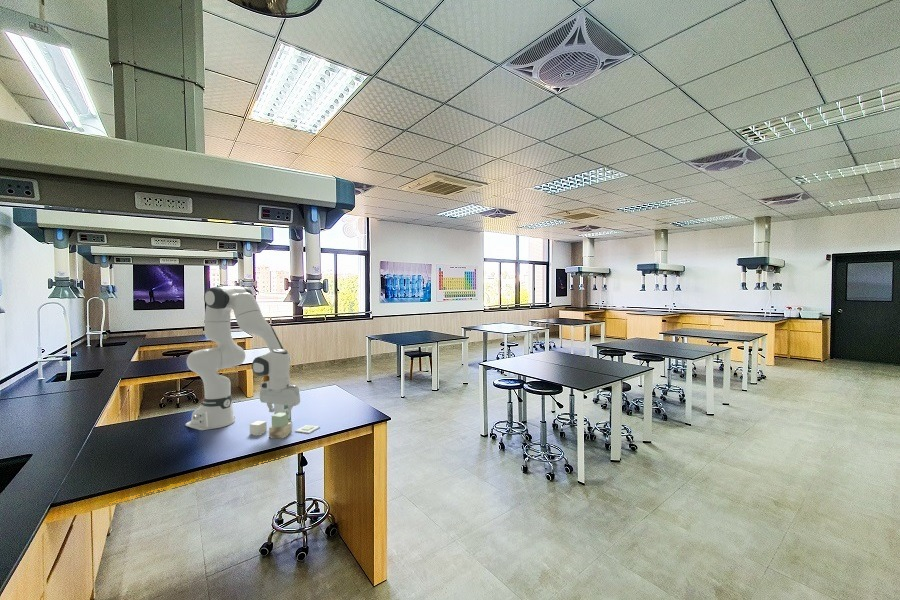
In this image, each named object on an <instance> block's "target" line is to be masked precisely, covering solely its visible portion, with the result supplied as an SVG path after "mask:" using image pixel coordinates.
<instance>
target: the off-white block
mask: <svg viewBox="0 0 900 600" xmlns="http://www.w3.org/2000/svg"><path fill="white" fill-rule="evenodd" d="M267 430H268V429H267V421H265V420H264V421H262V420H256V421H254V422H252V423H250V424H249V435H250V434H253V435H252V436H257V435H259V436H261V435H263V434H264V432H265V433H267V432H266V431H267ZM262 433H263V434H262ZM260 434H261V435H260Z"/></svg>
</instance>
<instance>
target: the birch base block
mask: <svg viewBox="0 0 900 600" xmlns="http://www.w3.org/2000/svg"><path fill="white" fill-rule="evenodd" d="M289 433H290V434H291V433H292V422H291V421H289V422H288V424H287V425H285V426H283V427H281V428H280V427H272V425H270V426H269V427H268V438H269V437H273V438H272V439H284V437H285V438H287V436H289V435H290V434H289ZM288 434H289V435H288Z"/></svg>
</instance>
